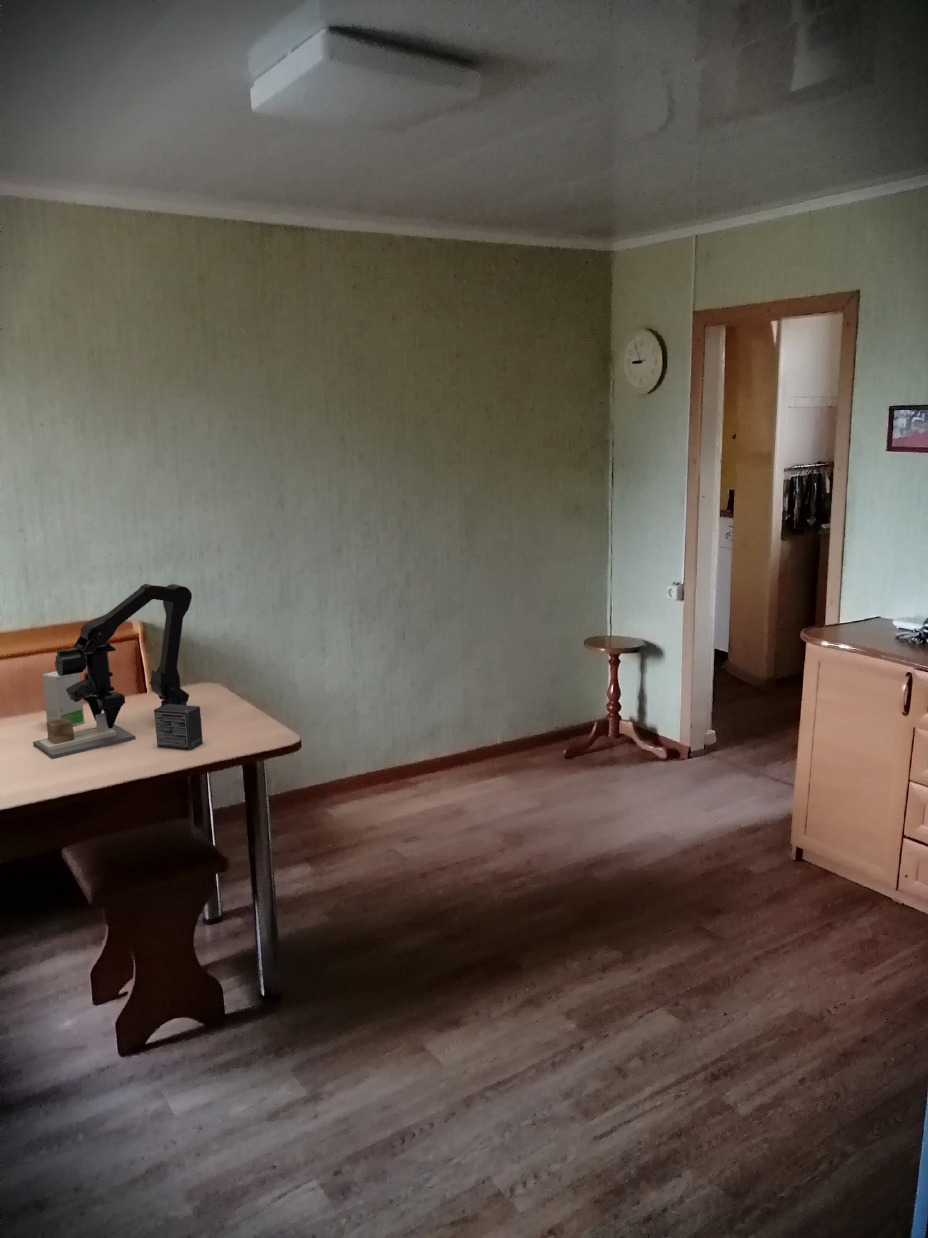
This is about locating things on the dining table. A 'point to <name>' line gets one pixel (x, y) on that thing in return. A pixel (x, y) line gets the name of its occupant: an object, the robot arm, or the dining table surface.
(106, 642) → the robot arm
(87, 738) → the off-white strip
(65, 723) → the walnut block
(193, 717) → the small box
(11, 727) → the dining table surface
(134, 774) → the dining table surface
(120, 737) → the charcoal board
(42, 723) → the dining table surface
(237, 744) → the dining table surface
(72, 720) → the skincare box
